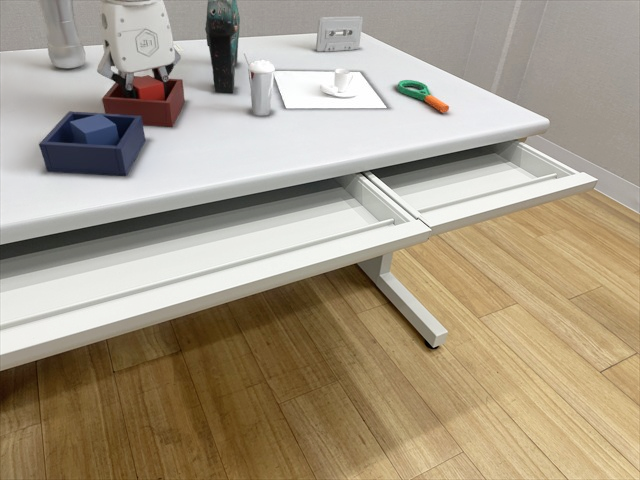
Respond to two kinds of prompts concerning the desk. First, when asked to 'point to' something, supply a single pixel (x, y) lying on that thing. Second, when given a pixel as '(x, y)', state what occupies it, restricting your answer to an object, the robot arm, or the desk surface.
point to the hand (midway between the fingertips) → (147, 105)
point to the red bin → (147, 104)
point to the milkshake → (261, 86)
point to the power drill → (223, 42)
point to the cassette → (338, 41)
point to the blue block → (95, 131)
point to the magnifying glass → (422, 94)
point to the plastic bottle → (62, 33)
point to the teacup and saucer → (326, 89)
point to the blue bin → (93, 147)
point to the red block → (149, 88)
